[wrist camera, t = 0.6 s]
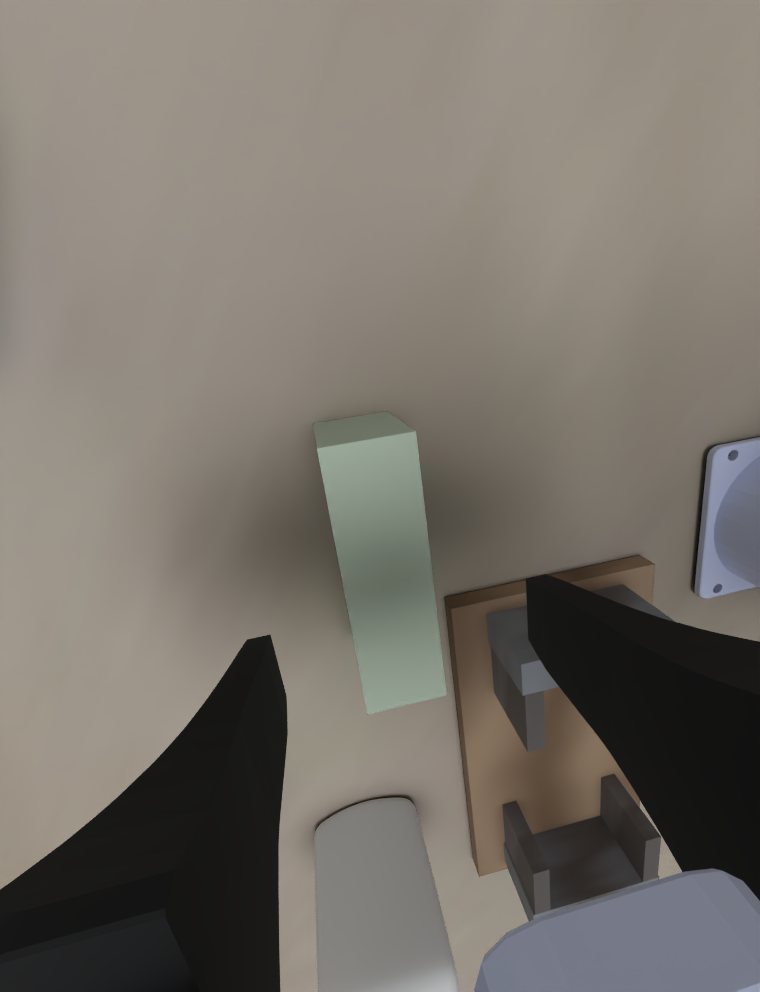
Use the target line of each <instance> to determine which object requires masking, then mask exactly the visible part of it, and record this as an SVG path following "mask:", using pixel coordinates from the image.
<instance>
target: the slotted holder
mask: <svg viewBox="0 0 760 992" xmlns="http://www.w3.org/2000/svg"><path fill="white" fill-rule="evenodd" d="M654 566H655V564H654V563H652V562H650V561H649V560H647V559H645V558H644V557H642V556H640V555H638V556H634V557H629V558H624V559H620V560H615V561H611V562H606V563H602V564H597V565H592V566H588V567H583V568H579V569H574V570H569V571H565V572H560V573H556V574H551V575H550V576H553V577H556V578H558V579H561V580H564V581H566V582H569V583H571V584H573V585H576V586H578V587H581V588H583V589H586V590H588V591H590V592H593V593H595V594H598V595H600V596H603V597H605V598H608V599H610V600H613V601H615V602H618V603H621V604H623V605H626V606H629V607H631V608H634V609H637V610H640V611H643V612H646V613H648V614H651V615H654V616H657V617H660V618H664V619H667V620H670V621H673V620H672V619H671V618H669V617H668V616H666V615H665V614H664V613H662V612H661V611H660V610H658V609H657V608H655V607H654V606H653V605H652V598H653V582H654ZM445 606H446V616H447V625H448V634H449V643H450V652H451V661H452V671H453V680H454V689H455V698H456V707H457V716H458V725H459V735H460V744H461V753H462V762H463V771H464V780H465V790H466V799H467V808H468V817H469V826H470V835H471V845H472V854H473V860H474V863H475V866H476V869H477V872H478V875H479V877H480V876H483V875H487V874H490V873H493V872H497V871H500V870H504V869H507V868H508V870H509V872H510V875H511V877H512V880H513V882H514V885H515V887H516V890H517V892H518V895H519V897H520V900H521V902H522V905H523V907H524V910H525V912H526V915H527V918H528V920H529V921H531V920H533V919H535V918H537V917H540V916H543V915H547V914H550V913H553V912H556V911H559V910H563V909H566V908H569V907H572V906H576V905H579V904H582V903H585V902H588V901H592V900H595V899H598V898H601V897H605V896H608V895H611V894H614V893H617V892H621V891H624V890H627V889H630V888H634V887H637V886H640V885H643V884H647V883H650V882H653V881H656V880H659V876H658V865H659V854H660V842H661V836H660V835H659V833H658V832H657V831H656V829H655V828H654V827H653V825H652V824H651V823H650V821H649V820H648V819H647V817H646V816H645V814H644V813H643V812H642V810H641V809H640V808H639V806H640V799H639V797H638V796H637V794H636V793H635V791H634V789H633V788H632V786H631V785H630V783H629V781H628V780H627V778H626V777H625V775H624V774H623V772H622V771H621V769H620V767H619V766H618V764H617V763H616V761H615V760H614V758H613V757H612V755H611V754H610V752H609V751H608V749H607V748H606V747H605V745H604V744H603V742H602V741H601V740H600V738H599V737H598V736H597V734H596V733H595V732H594V731H593V729H592V728H591V727H590V726H589V724H588V723H587V722H586V720H585V719H584V718H583V717H582V715H581V714H580V713H579V712H578V710H577V709H576V708H575V706H574V705H573V704H572V703H571V701H570V700H569V699H568V698H567V696H566V695H565V694H564V693H563V691H562V690H561V689H560V687H559V686H558V685H557V683H556V682H555V681H554V680H553V678H552V677H551V676H550V674H549V673H548V672H547V670H546V669H545V667H544V666H543V664H542V662H541V661H540V659H539V657H538V656H537V654H536V652H535V650H534V649H533V647H532V645H531V643H530V642H529V640H528V622H527V598H526V580H523V581H519V582H514V583H510V584H505V585H501V586H496V587H491V588H487V589H482V590H478V591H473V592H468V593H464V594H459V595H455V596H450V597H445ZM673 622H675V621H673Z"/></svg>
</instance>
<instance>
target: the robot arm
mask: <svg viewBox="0 0 760 992" xmlns="http://www.w3.org/2000/svg"><path fill="white" fill-rule="evenodd" d="M730 452H731V453H730ZM729 453H730V456H729V457H728V455H729ZM755 587H759V588H760V437H758V438H753V439H747V440H742V441H737V442H732V443H727V444H721V445H717V446H715V447H713V448H712V449H711V450H710V451H709V453H708V456H707V465H706V475H705V485H704V496H703V506H702V516H701V527H700V537H699V548H698V558H697V568H696V579H695V593H696V595H698V596H700V597H701V598H703V599H708V598H712V597H716V596H721V595H725V594H729V593H733V592H738V591H742V590H746V589H750V588H755ZM526 598H527V622H528V640H529V642H530V643H531V645H532V647H533V649H534V650H535V652H536V654H537V656H538V657H539V659H540V661H541V662H542V664H543V666H544V667H545V669H546V670H547V672H548V673H549V674H550V676H551V677H552V678H553V680H554V681H555V682H556V683H557V685H558V686H559V687H560V689H561V690H562V691H563V693H564V694H565V695H566V696H567V698H568V699H569V700H570V701H571V703H572V704H573V705H574V706H575V708H576V709H577V710H578V712H579V713H580V714H581V715H582V717H583V718H584V719H585V720H586V722H587V723H588V724H589V726H590V727H591V728H592V729H593V731H594V732H595V733H596V734H597V736H598V737H599V738H600V740H601V741H602V742H603V744H604V745H605V747H606V748H607V749H608V751H609V752H610V754H611V755H612V757H613V758H614V760H615V761H616V763H617V764H618V766H619V767H620V769H621V771H622V772H623V774H624V775H625V777H626V778H627V780H628V781H629V783H630V785H631V786H632V788H633V789H634V791H635V793H636V794H637V796H638V797H639V799H640V801H641V802H642V804H643V806H644V807H645V809H646V811H647V812H648V814H649V815H650V817H651V819H652V820H653V822H654V824H655V825H656V827H657V829H658V830H659V832H660V834H661V835H662V837H663V839H664V841H665V842H666V844H667V846H668V847H669V849H670V851H671V853H672V854H673V856H674V858H675V860H676V861H677V863H678V865H679V866H680V868H681V870H682V873H679V874H676V875H672V876H669V877H666V878H663V879H659V880H656V881H653V882H650V883H647V884H643V885H640V886H637V887H634V888H630V889H627V890H624V891H621V892H617V893H614V894H611V895H608V896H605V897H601V898H598V899H595V900H592V901H588V902H585V903H582V904H579V905H576V906H572V907H569V908H566V909H563V910H559V911H556V912H553V913H550V914H547V915H543V916H540V917H537V918H535V919H533V920H531V921H529V922H527V923H525V924H523V925H521V926H519V927H517V928H515V929H513V930H511V931H509V932H507V933H506V934H505V935H504V936H503V937H502V938H501V939H500V940H499V941H498V942H497V943H496V944H495V945H494V946H493V947H492V948H491V949H490V950H489V951H488V952H487V953H486V954H485V956H484V959H483V961H482V964H481V967H480V971H479V974H478V978H477V982H476V985H475V989H474V990H475V992H760V642H758V641H753V640H748V639H743V638H738V637H733V636H729V635H724V634H719V633H715V632H711V631H707V630H702V629H699V628H695V627H691V626H688V625H684V624H681V623H677V622H673V621H670V620H667V619H664V618H660V617H657V616H654V615H651V614H648V613H646V612H643V611H640V610H637V609H634V608H631V607H629V606H626V605H623V604H621V603H618V602H615V601H613V600H610V599H608V598H605V597H603V596H600V595H598V594H595V593H593V592H590V591H588V590H586V589H583V588H581V587H578V586H576V585H573V584H571V583H569V582H566V581H564V580H561V579H558V578H556V577H553V576H550V575H547V574H545V575H540V576H536V577H531V578H527V579H526ZM286 745H287V699H286V693H285V689H284V685H283V681H282V678H281V674H280V670H279V666H278V662H277V658H276V655H275V651H274V647H273V643H272V639H271V635H267V636H262V637H257V638H253V639H248V640H247V641H246V642H245V644H244V645H243V646H242V648H241V649H240V651H239V652H238V654H237V656H236V657H235V659H234V660H233V662H232V663H231V665H230V666H229V668H228V669H227V671H226V672H225V674H224V676H223V677H222V678H221V680H220V681H219V683H218V684H217V686H216V687H215V689H214V690H213V691H212V693H211V694H210V696H209V697H208V699H207V700H206V701H205V703H204V704H203V705H202V707H201V708H200V709H199V710H198V712H197V713H196V714H195V716H194V717H193V718H192V720H191V721H190V722H189V723H188V725H187V726H186V727H185V728H184V730H183V731H182V732H181V733H180V734H179V735H178V737H177V738H176V739H175V740H174V741H173V742H172V743H171V744H170V745H169V747H168V748H167V749H166V750H165V751H164V752H163V753H162V754H161V755H160V756H159V757H158V759H157V760H156V761H155V762H154V763H153V764H152V765H151V766H150V767H149V768H148V769H147V770H146V771H144V772H143V773H142V774H141V775H140V776H139V777H138V778H137V779H136V780H135V781H134V782H133V783H132V784H131V785H130V786H129V787H128V788H127V789H126V790H125V791H124V792H123V793H122V794H121V795H120V796H118V797H117V798H116V799H115V800H114V801H113V802H112V803H111V804H109V805H108V806H107V807H106V808H105V809H104V810H103V811H101V812H100V813H99V814H98V815H97V816H96V817H95V818H93V819H92V820H91V821H90V822H89V823H87V824H86V825H85V826H84V827H82V828H81V829H80V830H79V831H78V832H76V833H75V834H74V835H73V836H72V837H70V838H69V839H68V840H66V841H65V842H64V843H63V844H61V845H60V846H59V847H58V848H56V849H55V850H54V851H52V852H51V853H50V854H48V855H47V856H46V857H44V858H43V859H41V860H40V861H39V862H37V863H36V864H35V865H33V866H32V867H31V868H29V869H28V870H27V871H25V872H24V873H23V874H21V875H20V876H19V877H17V878H16V879H15V880H13V881H12V882H10V883H9V884H8V885H6V886H5V887H3V888H2V889H1V890H0V992H280V963H279V897H278V842H279V823H280V811H281V801H282V790H283V779H284V768H285V757H286Z"/></svg>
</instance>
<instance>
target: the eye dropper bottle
mask: <svg viewBox="0 0 760 992" xmlns="http://www.w3.org/2000/svg"><path fill="white" fill-rule="evenodd" d="M314 865H315V904H316V941H317V974H318V992H459V985H458V978H457V973H456V968H455V964H454V960H453V956H452V951H451V947H450V943H449V939H448V935H447V930H446V926H445V922H444V918H443V914H442V910H441V906H440V902H439V898H438V894H437V890H436V886H435V882H434V878H433V874H432V870H431V866H430V862H429V858H428V854H427V850H426V846H425V842H424V838H423V834H422V830H421V826H420V822H419V818H418V814H417V811H416V808H415V806H414V804H413V803H412V802H411V801H410V800H408V799H406V798H399V797H398V798H381V799H374V800H369V801H365V802H362V803H359V804H356V805H353V806H350V807H348V808H346V809H344V810H342V811H340V812H338V813H336V814H334V815H333V816H331V817H329V818H328V819H326V820H325V821H324V822H322V823H321V824H320V825H319V826H318V828H317V829H316V831H315V835H314Z"/></svg>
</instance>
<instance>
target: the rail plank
mask: <svg viewBox="0 0 760 992" xmlns="http://www.w3.org/2000/svg"><path fill="white" fill-rule="evenodd" d="M313 428H314V434H315V440H316V446H317V452H318V457H319V463H320V468H321V473H322V478H323V483H324V489H325V494H326V499H327V504H328V510H329V515H330V520H331V525H332V531H333V536H334V541H335V546H336V551H337V557H338V562H339V567H340V572H341V578H342V583H343V588H344V593H345V599H346V604H347V609H348V614H349V619H350V625H351V630H352V635H353V640H354V646H355V651H356V656H357V661H358V667H359V672H360V677H361V682H362V688H363V693H364V698H365V703H366V708H367V714H372V713H377V712H381V711H385V710H389V709H393V708H397V707H401V706H405V705H409V704H414V703H418V702H422V701H426V700H430V699H434V698H438V697H442V696H446V695H447V693H446V685H445V676H444V668H443V659H442V650H441V642H440V633H439V625H438V616H437V608H436V599H435V590H434V582H433V573H432V565H431V556H430V548H429V539H428V530H427V522H426V513H425V505H424V496H423V488H422V479H421V470H420V462H419V453H418V445H417V436H416V431H415V430H413V429H412V428H411V427H409V426H408V425H406V424H405V423H403V422H402V421H401V420H399V419H398V418H396V417H395V416H393V415H392V414H391V413H389V412H388V411H385V412H379V413H373V414H367V415H361V416H355V417H349V418H343V419H337V420H331V421H325V422H319V423H313Z"/></svg>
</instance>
